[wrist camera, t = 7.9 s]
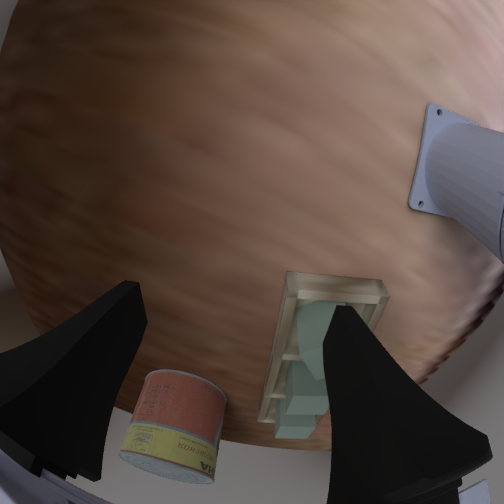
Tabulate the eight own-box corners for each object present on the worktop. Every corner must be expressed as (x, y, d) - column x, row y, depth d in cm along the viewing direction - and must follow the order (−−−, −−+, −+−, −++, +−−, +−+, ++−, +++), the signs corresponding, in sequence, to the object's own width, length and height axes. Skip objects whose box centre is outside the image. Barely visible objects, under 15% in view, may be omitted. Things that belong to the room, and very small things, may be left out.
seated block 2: (313, 391, 29) (316, 426, 24) (305, 405, 31) (307, 438, 26) (280, 389, 29) (280, 426, 24) (275, 404, 31) (274, 437, 26)
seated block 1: (330, 354, 25) (336, 395, 21) (320, 376, 27) (324, 414, 23) (292, 353, 25) (293, 395, 21) (285, 375, 27) (285, 414, 23)
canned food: (217, 418, 35) (205, 487, 25) (145, 396, 34) (123, 463, 24) (236, 385, 29) (224, 476, 19) (145, 358, 28) (112, 444, 18)
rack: (381, 280, 21) (389, 296, 19) (316, 410, 32) (317, 423, 30) (286, 271, 21) (287, 288, 19) (258, 408, 32) (257, 421, 30)
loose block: (341, 291, 21) (353, 336, 17) (352, 322, 23) (363, 365, 18) (296, 307, 22) (299, 353, 18) (311, 336, 24) (316, 380, 19)
